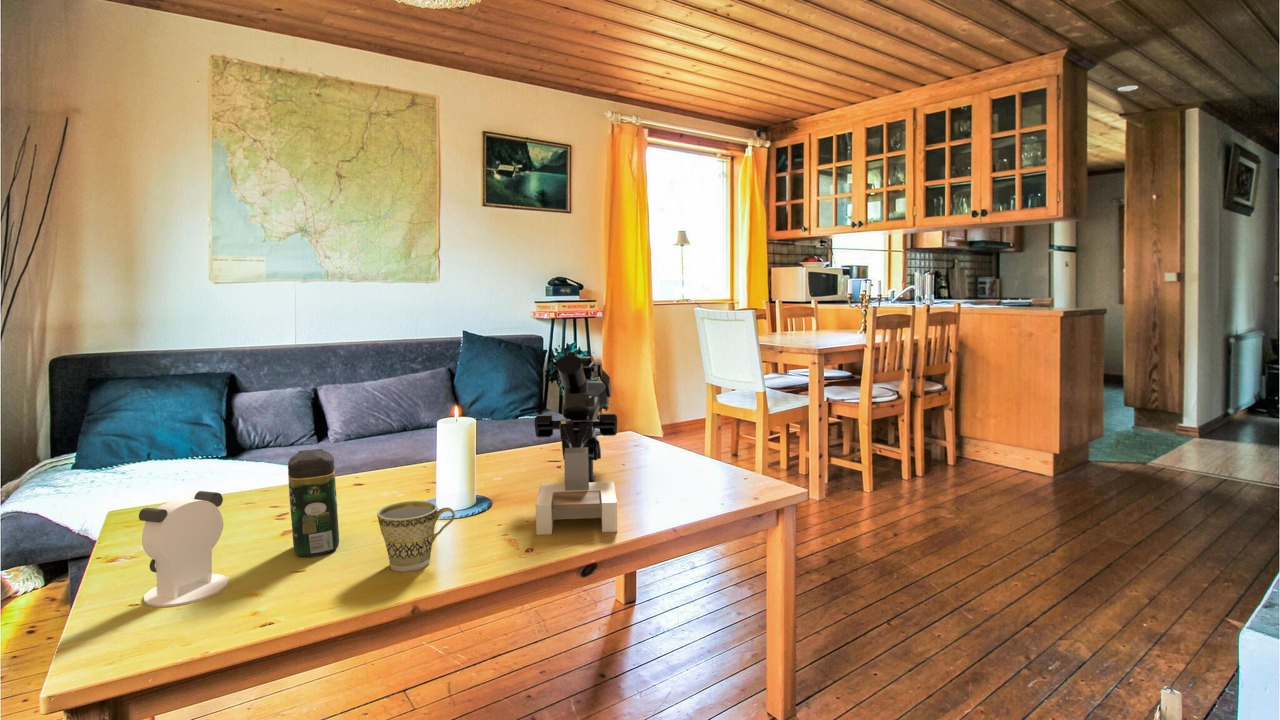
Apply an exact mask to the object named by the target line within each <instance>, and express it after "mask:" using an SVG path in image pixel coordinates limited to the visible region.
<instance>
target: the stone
mask: <svg viewBox="0 0 1280 720" xmlns="http://www.w3.org/2000/svg"><path fill="white" fill-rule="evenodd" d="M563 461H564V483H565V491H573V490H589V471H588V447H583V448H565V452H564V459H563Z"/></svg>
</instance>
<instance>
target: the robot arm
mask: <svg viewBox="0 0 1280 720" xmlns="http://www.w3.org/2000/svg"><path fill="white" fill-rule="evenodd" d="M556 367H557V371H558V374H559V378H560V381H561V385H562V386H563V387H564V388H563V407H562V410H563V411H562V414H563V415H562V416H563V417H560V419H559V420H553V414H537V415H535V417H534V431H535V437H537V438H538V439H539V438H551V437H552V436H553V435H554V431H555V430H557V431H558V430H559V433H560V439H561V450H562V459H563V460H564V452H565V448H583V447H588V471H589V482H596V476H595V475H594V461H597V460H601V458H602V455H601V454H602V452H601V450H602V449H601V444H600V441H599V439H598V436H597V435H596V429H599V434H600V435H602V436H603V437H607V436H608V437H611V436H613V437H614V436H616V435H617V431H618V416H617V414H616V413H615V412H612V413H610V412H608V413H599V411H600V408H601V407H603V406H606V405H607V404H608V402H609V401H610V398H611V397H612V382H611V377H610V375H608V373H606V371H605V370H604V369H603V364H602V363H601V362H599V361H595V359H594V358H593V356H584V355H583V356H582V355H581V356H580V355H579V356H577V352H576V351H567V354H566V355H564V356H562V357H560V359H559V360H558V361H557V364H556ZM597 377H598V378H599V380H592V379H593V378H597ZM598 416H599V418H598ZM597 418H598V419H597Z"/></svg>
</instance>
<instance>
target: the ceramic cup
mask: <svg viewBox="0 0 1280 720" xmlns="http://www.w3.org/2000/svg"><path fill="white" fill-rule="evenodd" d="M446 512H450V513H451V515H452V516H451V519H449V521H447V522H446V523H445V524H444V525H443V526H441V528H439V530H438V532H435V525H436V523H437V521H438V520H439V517H440V516H441V515H442V514H443V513H446ZM455 515H456V514H455V511H454V510H453V509H452V508H451V507H441V508H440V509H439V510H438V505H437V504H436V503H434V502H431V501H426V500H407V501H401V502H395V503H391V504H388V505H385V506H383V507H382V508H380V509H379V510H378V511H377V513H376V517H377V521H378V525H379V528H380V531H381V535H382V538H383V540H384V543H385V547H386V552H387V556H388V561H389V565H390V569H391V570H392V571H396V572H400V573H401V572H402V573H405V572H406V573H407V572H411V571H412V572H413V571H418V570H421V569H423V568H424V567H426V566H428V565H429V564H430V563H431V554H432V549H433V543H434V542H435V540H436V538H437V537H439V535H440V534H441V533H442V531H444V529H445V528H447V527H448V525H449V526H450V525H451V523H453V521H454V519H455Z"/></svg>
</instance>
